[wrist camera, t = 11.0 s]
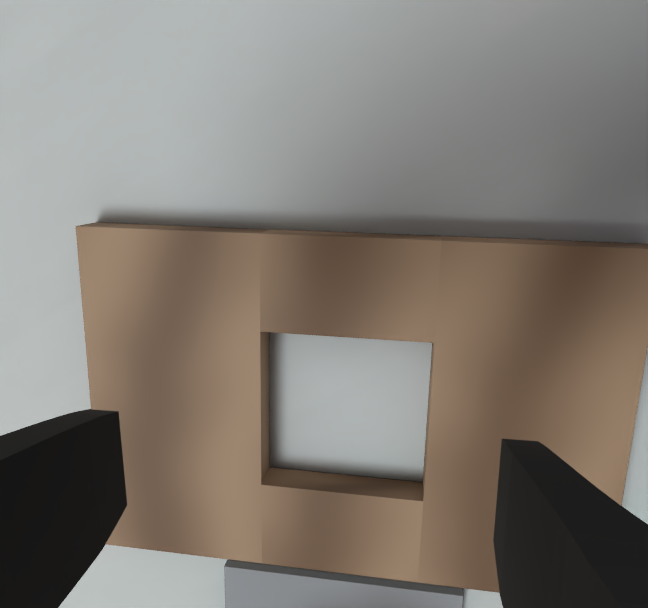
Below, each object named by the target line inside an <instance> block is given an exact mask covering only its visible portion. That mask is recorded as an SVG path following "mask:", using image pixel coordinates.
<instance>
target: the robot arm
mask: <svg viewBox="0 0 648 608" xmlns="http://www.w3.org/2000/svg"><path fill="white" fill-rule="evenodd" d="M126 507H127V496H126V485H125V475H124V464H123V453H122V443H121V432H120V421H119V411H107V410H93V409H89V410H83V411H78V412H74V413H70V414H66V415H63V416H59V417H56V418H53V419H50V420H46V421H43V422H40V423H37V424H34V425H31V426H28V427H25V428H22V429H20V430H17V431H14V432H11V433H8V434H5V435H2V436H0V608H58V607H59V606H60V604H61V603H62V602H63V601H64V599H65V598H66V597H67V595H68V594H69V593H70V592H71V590H72V589H73V588H74V586H75V585H76V584H77V582H78V581H79V580H80V579H81V577H82V576H83V575H84V573H85V572H86V571H87V569H88V568H89V567H90V565H91V564H92V563H93V561H94V560H95V559H96V557H97V556H98V555H99V553H100V552H101V550H102V549H103V547H104V546H105V544H106V542H107V541H108V539H109V537H110V536H111V534H112V532H113V530H114V529H115V527H116V525H117V523H118V521H119V519H120V518H121V516H122V514H123V512H124V510H125V508H126ZM493 543H494V551H495V560H496V568H497V576H498V584H499V591H500V597H501V601H502V605H503V608H648V524H646V523H645V522H643V521H642V520H640V519H639V518H637V517H636V516H635V515H633V514H632V513H630V512H629V511H628V510H626V509H625V508H623V507H622V506H621V505H619V504H618V503H617V502H615V501H614V500H613V499H611V498H610V497H609V496H607V495H606V494H605V493H604V492H602V491H601V490H600V489H598V488H597V487H596V486H595V485H593V484H592V483H591V482H589V481H588V480H587V479H586V478H584V477H583V476H582V475H581V474H580V473H578V472H577V471H576V470H575V469H573V468H572V467H571V466H570V465H568V464H567V463H566V462H565V461H564V460H562V459H561V458H560V457H559V456H557V455H556V454H555V453H554V452H552V451H551V450H550V449H549V448H547V447H546V446H545V445H543V444H542V443H540V442H539V441H529V440H515V439H502V441H501V453H500V465H499V478H498V490H497V502H496V514H495V526H494V538H493Z"/></svg>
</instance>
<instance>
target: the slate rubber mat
mask: <svg viewBox="0 0 648 608" xmlns="http://www.w3.org/2000/svg"><path fill="white" fill-rule="evenodd" d="M224 572H225V608H462V603H463V591H462V588H455V587H447V586H439V585H430V584H422V583H414V582H406V581H398V580H390V579H381V578H373V577H365V576H357V575H349V574H341V573H333V572H324V571H316V570H308V569H300V568H292V567H284V566H276V565H267V564H259V563H251V562H243V561H235V560H227V562H226V564H225V566H224Z"/></svg>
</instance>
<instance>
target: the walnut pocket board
mask: <svg viewBox="0 0 648 608" xmlns="http://www.w3.org/2000/svg"><path fill="white" fill-rule="evenodd" d="M76 235H77V247H78V259H79V271H80V283H81V295H82V306H83V318H84V330H85V342H86V354H87V365H88V377H89V389H90V401H91V409H93V410H107V411H119V421H120V432H121V443H122V453H123V464H124V475H125V485H126V496H127V507H126V508H125V510H124V512H123V514H122V516H121V518H120V519H119V521H118V523H117V525H116V527H115V529H114V530H113V532H112V534H111V536H110V537H109V539H108V541H107V542H106V544H108V545H116V546H124V547H132V548H140V549H149V550H157V551H165V552H173V553H181V554H189V555H198V556H206V557H214V558H222V559H230V560H238V561H247V562H255V563H263V564H271V565H279V566H287V567H295V568H304V569H312V570H320V571H328V572H336V573H344V574H353V575H361V576H369V577H377V578H385V579H393V580H402V581H410V582H418V583H426V584H434V585H442V586H450V587H459V588H467V589H475V590H483V591H491V592H499V593H500V591H499V584H498V576H497V568H496V560H495V551H494V543H493V538H494V526H495V514H496V502H497V490H498V478H499V465H500V453H501V441H502V439H515V440H529V441H539V442H540V443H542V444H543V445H545V446H546V447H547V448H549V449H550V450H551V451H552V452H554V453H555V454H556V455H557V456H559V457H560V458H561V459H562V460H564V461H565V462H566V463H567V464H568V465H570V466H571V467H572V468H573V469H575V470H576V471H577V472H578V473H580V474H581V475H582V476H583V477H584V478H586V479H587V480H588V481H589V482H591V483H592V484H593V485H595V486H596V487H597V488H598V489H600V490H601V491H602V492H604V493H605V494H606V495H607V496H609V497H610V498H611V499H613V500H614V501H615V502H617V503H618V504H619V505H622V498H623V492H624V486H625V480H626V474H627V468H628V462H629V456H630V450H631V444H632V438H633V432H634V426H635V420H636V414H637V408H638V402H639V395H640V389H641V383H642V377H643V371H644V365H645V359H646V353H647V347H648V244H638V243H612V242H586V241H560V240H534V239H508V238H482V237H456V236H430V235H404V234H378V233H352V232H326V231H300V230H274V229H248V228H222V227H197V226H171V225H145V224H119V223H90V224H85V225H80V226H76ZM269 332H275V333H290V334H306V335H321V336H337V337H352V338H368V339H383V340H399V341H415V342H430V343H432V356H431V370H430V385H429V399H428V414H427V428H426V442H425V457H424V471H423V482H414V481H404V480H394V479H383V478H373V477H363V476H353V475H343V474H333V473H322V472H312V471H302V470H292V469H282V468H272V467H270V448H269Z"/></svg>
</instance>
